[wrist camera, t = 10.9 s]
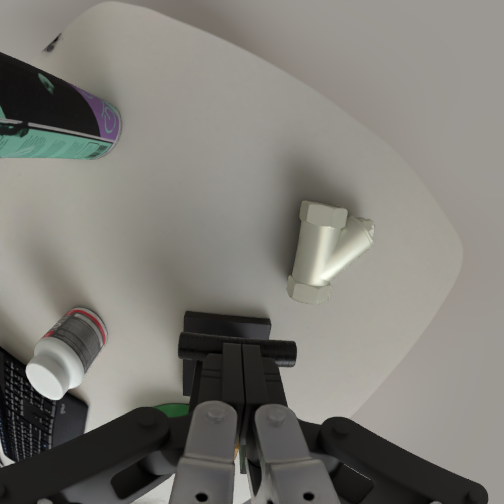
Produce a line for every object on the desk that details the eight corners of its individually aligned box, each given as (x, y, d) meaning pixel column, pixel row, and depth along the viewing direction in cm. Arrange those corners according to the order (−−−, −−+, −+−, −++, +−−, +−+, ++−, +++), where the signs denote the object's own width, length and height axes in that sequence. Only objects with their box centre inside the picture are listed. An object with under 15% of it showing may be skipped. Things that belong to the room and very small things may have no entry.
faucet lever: (183, 316, 13) (175, 358, 11) (293, 326, 13) (300, 367, 11) (189, 430, 19) (186, 456, 17) (252, 434, 20) (253, 460, 18)
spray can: (132, 112, 22) (-44, 27, 3) (105, 168, 23) (-95, 186, 4) (87, 95, 21) (-80, 30, 2) (63, 147, 22) (-119, 148, 3)
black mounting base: (185, 310, 27) (157, 405, 15) (269, 318, 28) (294, 415, 15) (184, 388, 29) (168, 483, 17) (255, 394, 30) (267, 489, 18)
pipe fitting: (365, 210, 26) (298, 198, 25) (387, 217, 22) (313, 204, 21) (348, 290, 28) (283, 286, 27) (366, 307, 24) (295, 305, 23)
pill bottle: (70, 297, 26) (19, 344, 16) (113, 321, 27) (73, 379, 17) (63, 334, 27) (19, 385, 17) (102, 357, 28) (68, 416, 18)
